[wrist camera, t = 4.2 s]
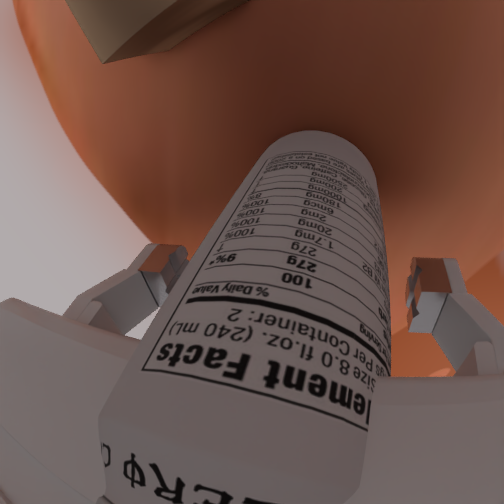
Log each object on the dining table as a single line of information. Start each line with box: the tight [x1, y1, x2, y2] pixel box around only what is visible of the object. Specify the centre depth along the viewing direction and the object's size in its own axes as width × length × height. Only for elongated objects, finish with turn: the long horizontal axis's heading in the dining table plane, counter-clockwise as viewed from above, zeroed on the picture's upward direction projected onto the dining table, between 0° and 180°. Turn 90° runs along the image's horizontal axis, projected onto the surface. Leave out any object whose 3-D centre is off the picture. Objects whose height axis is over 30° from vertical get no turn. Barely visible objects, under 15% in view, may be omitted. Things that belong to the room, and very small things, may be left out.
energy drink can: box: [96, 131, 391, 504], centre depth 9 cm, size 6×6×15 cm
